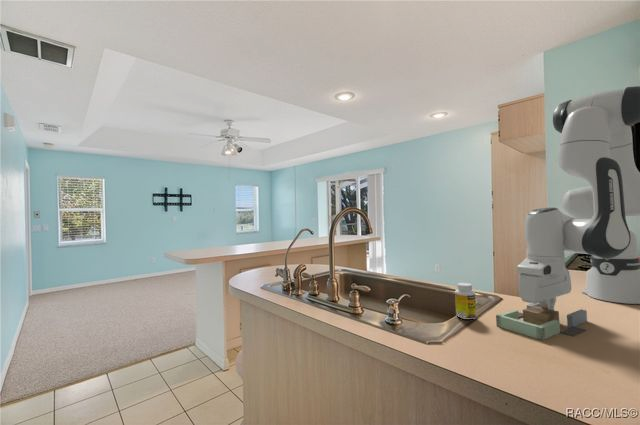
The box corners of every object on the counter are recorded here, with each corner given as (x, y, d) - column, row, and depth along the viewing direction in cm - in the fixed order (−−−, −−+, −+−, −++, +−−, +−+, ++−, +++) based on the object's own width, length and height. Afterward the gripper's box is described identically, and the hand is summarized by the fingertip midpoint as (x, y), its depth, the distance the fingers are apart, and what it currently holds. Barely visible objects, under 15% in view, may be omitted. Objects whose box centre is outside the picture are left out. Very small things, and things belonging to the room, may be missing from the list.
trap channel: (531, 308, 96) (531, 298, 96) (599, 324, 81) (599, 313, 81) (487, 322, 86) (486, 312, 86) (555, 344, 70) (554, 331, 70)
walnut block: (535, 319, 86) (534, 305, 86) (559, 326, 81) (558, 311, 81) (523, 324, 84) (522, 309, 84) (547, 330, 78) (546, 315, 78)
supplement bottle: (469, 322, 87) (468, 287, 87) (452, 317, 91) (450, 284, 91) (480, 318, 90) (478, 284, 90) (462, 313, 94) (461, 281, 94)
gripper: (552, 259, 92) (554, 304, 92) (513, 267, 83) (515, 316, 83) (576, 261, 87) (579, 309, 87) (537, 270, 78) (540, 323, 77)
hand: (548, 313), depth 85 cm, fingers closed
